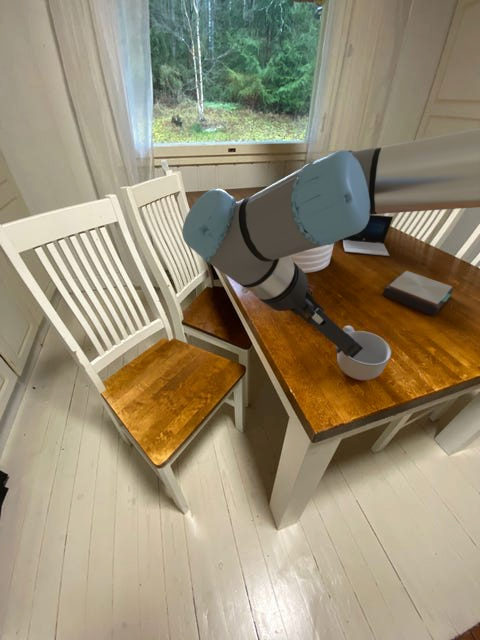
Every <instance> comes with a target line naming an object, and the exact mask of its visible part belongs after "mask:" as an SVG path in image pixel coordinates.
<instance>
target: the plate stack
mask: <svg viewBox="0 0 480 640" xmlns="http://www.w3.org/2000/svg"><path fill="white" fill-rule="evenodd" d="M334 245H335V243H334V244H331V245H325V246H320V247H316V248H313V249H310V250H306V251H303V252H299V253H296V254H293V255H289V257H290V258H291V259H292V260H293V262H294V263H295V264H296V265H297V266H298V267H299V268H300V269H301V270H302V271H303V272H304V273H305V274H307V273H314V272H315V273H316V272H318V271H321V270H323V269H326V268H327V267H328V266H329V264H330V262H331V258H332V254H333V250H334Z"/></svg>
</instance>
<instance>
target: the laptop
mask: <svg viewBox="0 0 480 640" xmlns="http://www.w3.org/2000/svg"><path fill="white" fill-rule="evenodd" d="M393 218H394V216H390V215H381V214H374V215H369V221H368V223H367V225H366V227H365V228H364V229H363V230H362V231H361V232H359V233H357V234H354V235H351V236H349V237H346V238H344V239H342V245H343V249H344V253H350V254H361V255H370V256H371V255H373V256H380V257H381V256H382V257H390V254H389V252H388V249H387V248H386V246H385V241H386V238H387V236H388V233H389V230H390V228H391V224H392V222H393Z"/></svg>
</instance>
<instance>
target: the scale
mask: <svg viewBox="0 0 480 640" xmlns="http://www.w3.org/2000/svg"><path fill="white" fill-rule="evenodd" d="M454 290H455V289H454V288H453V286H452V285H450V284H446V283H443V282H441V281H437V280H436V279H435V280H434V279H432V278H429V277H426V276H423V275H421V274H417V273H414V272H412V271H409V270H406V271H403V272H402V273H400V275H399V276H397V277H396V278H395V279H394V280H393V281H391V282H390V283H389V284H388V285H386V286H385V287H384V289H383V292H382V296H384V297H385V298H388V299H391V300H393V301H396V302H398V303H400V304H402V305H405V306H407V307H410V308H413V309H415V310H417V311H420V312H422V313H425V314H427V315H429V316H432V317H435V315H436V314H437V313H438V312H439V311H440V309H441V308H442V307H443V306H444V305H445V303H446V302H447V301H448V300H449V298H450V297H451V296H452V293H453V292H454Z"/></svg>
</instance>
